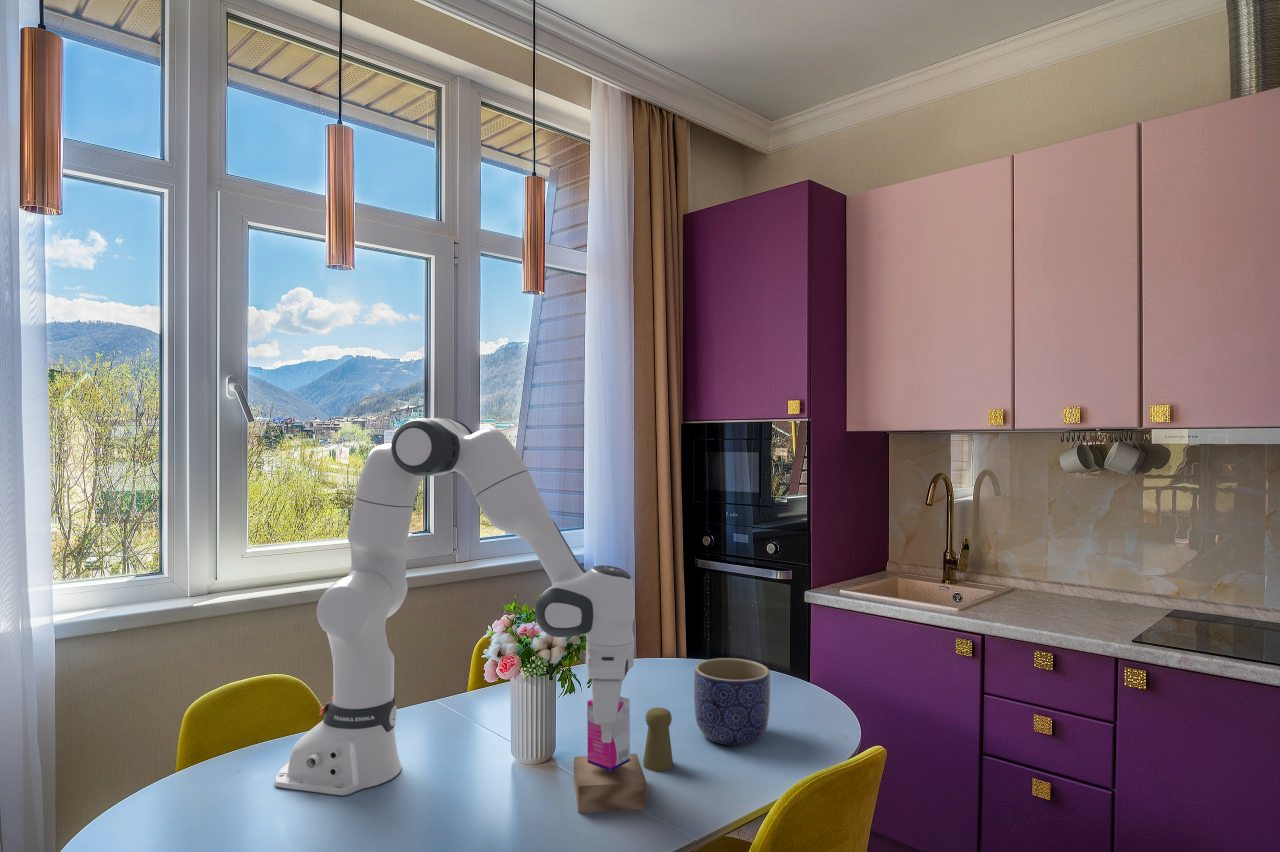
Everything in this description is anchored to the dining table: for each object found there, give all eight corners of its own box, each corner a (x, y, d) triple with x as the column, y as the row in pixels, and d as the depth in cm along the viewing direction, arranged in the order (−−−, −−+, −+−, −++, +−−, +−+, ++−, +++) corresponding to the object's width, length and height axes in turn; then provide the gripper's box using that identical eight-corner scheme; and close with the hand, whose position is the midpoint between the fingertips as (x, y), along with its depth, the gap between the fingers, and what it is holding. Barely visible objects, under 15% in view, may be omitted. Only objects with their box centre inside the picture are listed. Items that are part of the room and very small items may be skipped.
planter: (687, 747, 160) (688, 676, 160) (700, 719, 176) (700, 655, 176) (766, 756, 156) (767, 683, 156) (772, 726, 172) (772, 660, 172)
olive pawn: (647, 772, 148) (648, 716, 148) (639, 759, 154) (640, 705, 154) (677, 769, 150) (677, 713, 150) (667, 756, 155) (668, 703, 156)
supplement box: (606, 752, 143) (607, 691, 143) (630, 761, 139) (631, 699, 140) (585, 762, 139) (586, 699, 139) (609, 772, 135) (611, 707, 135)
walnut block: (578, 814, 132) (578, 785, 132) (573, 783, 144) (574, 756, 144) (646, 810, 134) (646, 781, 134) (636, 779, 146) (636, 753, 146)
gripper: (597, 639, 150) (596, 710, 150) (587, 672, 129) (586, 753, 129) (629, 640, 150) (628, 711, 149) (624, 673, 129) (623, 754, 129)
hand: (608, 731), depth 139 cm, fingers closed on supplement box, 8 cm apart
